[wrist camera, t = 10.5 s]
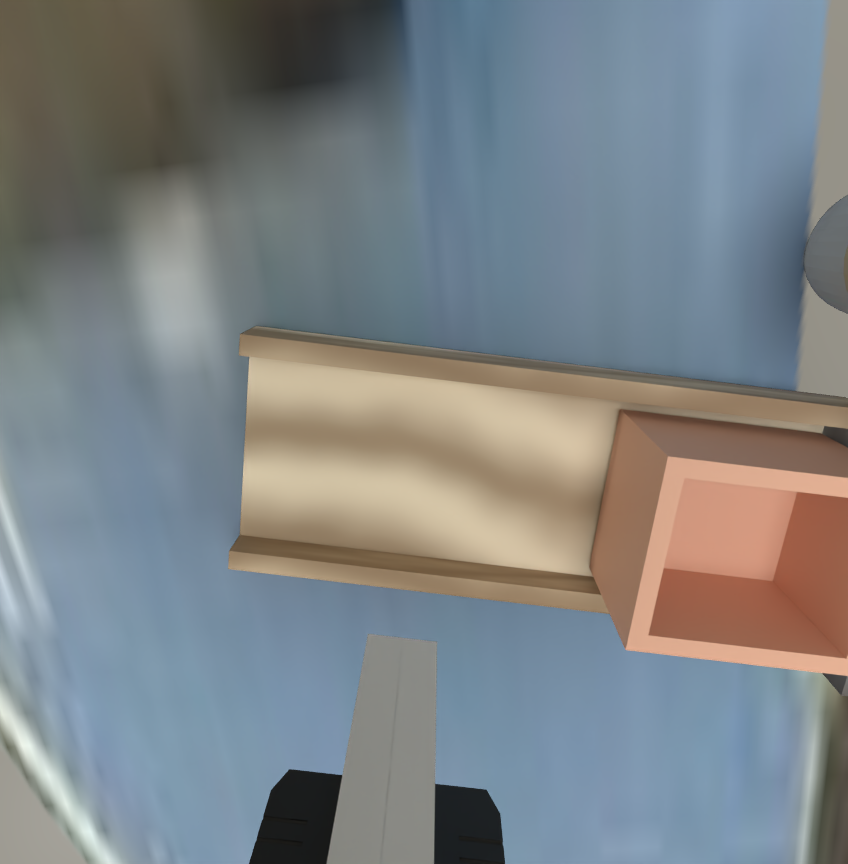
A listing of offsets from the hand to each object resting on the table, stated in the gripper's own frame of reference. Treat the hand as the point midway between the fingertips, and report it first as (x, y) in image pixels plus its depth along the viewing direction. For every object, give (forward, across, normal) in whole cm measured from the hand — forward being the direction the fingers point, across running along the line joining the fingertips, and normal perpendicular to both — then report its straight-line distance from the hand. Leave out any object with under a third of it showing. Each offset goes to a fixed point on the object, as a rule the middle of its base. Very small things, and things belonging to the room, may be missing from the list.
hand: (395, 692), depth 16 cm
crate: (+21, +15, -2) cm, 26 cm away
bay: (+23, +6, -2) cm, 24 cm away
